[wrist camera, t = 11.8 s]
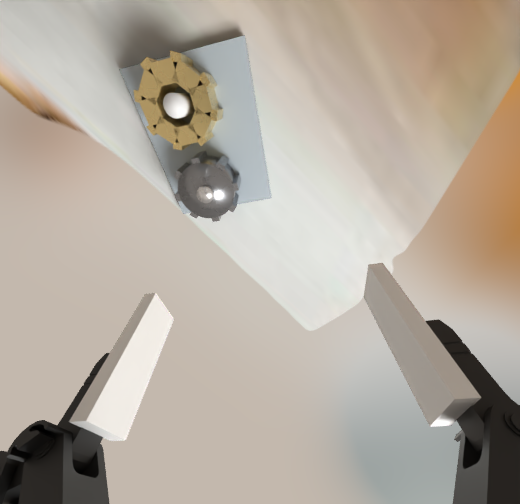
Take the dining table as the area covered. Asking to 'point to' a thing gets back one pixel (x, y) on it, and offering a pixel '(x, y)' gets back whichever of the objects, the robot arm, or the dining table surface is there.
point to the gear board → (225, 130)
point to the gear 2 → (208, 186)
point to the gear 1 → (166, 81)
